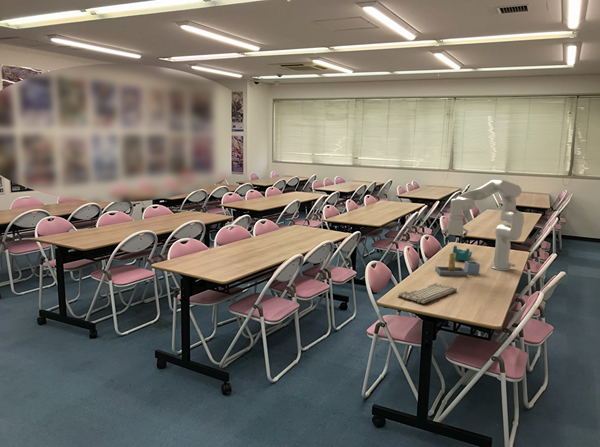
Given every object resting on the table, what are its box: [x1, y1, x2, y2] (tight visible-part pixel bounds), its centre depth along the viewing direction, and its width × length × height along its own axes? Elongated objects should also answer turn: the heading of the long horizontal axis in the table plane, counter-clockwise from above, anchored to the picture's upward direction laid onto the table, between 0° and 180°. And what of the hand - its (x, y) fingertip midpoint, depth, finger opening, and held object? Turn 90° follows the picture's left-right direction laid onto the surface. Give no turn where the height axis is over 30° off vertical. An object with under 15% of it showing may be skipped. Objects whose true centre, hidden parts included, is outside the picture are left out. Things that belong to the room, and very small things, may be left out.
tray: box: [434, 265, 468, 278], centre depth 315 cm, size 18×12×3 cm, turn 88°
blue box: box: [463, 260, 481, 275], centre depth 318 cm, size 8×8×7 cm
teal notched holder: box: [452, 245, 473, 262], centre depth 356 cm, size 18×11×10 cm, turn 149°
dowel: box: [447, 252, 456, 271], centre depth 314 cm, size 4×4×13 cm
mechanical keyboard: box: [397, 282, 458, 307], centre depth 270 cm, size 38×19×3 cm, turn 134°
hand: (454, 242), depth 312 cm, fingers open, 9 cm apart
